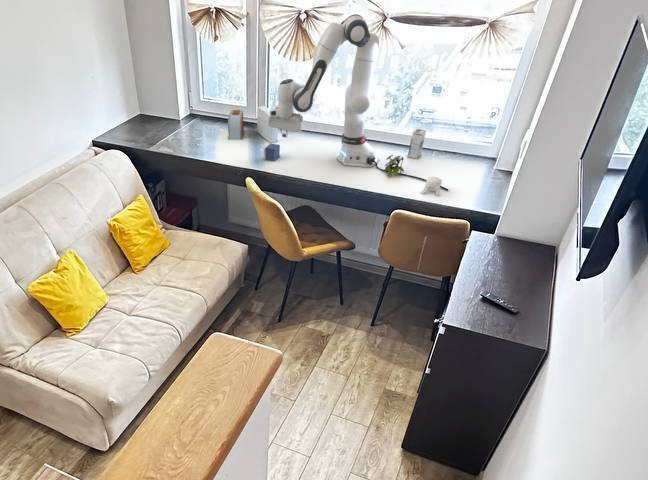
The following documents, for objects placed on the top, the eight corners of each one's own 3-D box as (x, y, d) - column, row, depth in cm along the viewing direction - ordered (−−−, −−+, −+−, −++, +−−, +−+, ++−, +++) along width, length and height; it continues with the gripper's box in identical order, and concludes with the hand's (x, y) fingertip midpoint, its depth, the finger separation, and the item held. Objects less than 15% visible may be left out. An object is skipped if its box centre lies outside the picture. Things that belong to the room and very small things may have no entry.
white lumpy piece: (422, 192, 285) (420, 193, 272) (426, 175, 281) (424, 176, 269) (439, 194, 282) (437, 196, 269) (444, 177, 279) (442, 178, 266)
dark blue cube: (279, 144, 315) (269, 143, 318) (274, 149, 311) (263, 147, 314) (279, 156, 320) (269, 154, 323) (274, 161, 316) (263, 159, 318)
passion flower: (386, 180, 302) (389, 158, 301) (405, 180, 297) (409, 157, 295) (380, 175, 293) (383, 152, 291) (400, 175, 287) (404, 152, 286)
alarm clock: (231, 130, 354) (230, 109, 345) (244, 130, 353) (243, 109, 344) (228, 139, 344) (227, 117, 334) (241, 139, 342) (240, 117, 333)
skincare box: (278, 141, 337) (278, 115, 326) (270, 143, 336) (270, 116, 325) (264, 130, 352) (264, 105, 341) (256, 132, 350) (256, 106, 339)
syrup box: (411, 153, 314) (416, 128, 304) (421, 155, 311) (426, 130, 301) (407, 157, 311) (412, 131, 301) (417, 159, 308) (422, 133, 298)
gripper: (305, 112, 295) (303, 137, 305) (271, 107, 303) (271, 132, 313) (300, 116, 291) (299, 141, 301) (266, 111, 299) (266, 136, 309)
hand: (284, 137), depth 307 cm, fingers closed
